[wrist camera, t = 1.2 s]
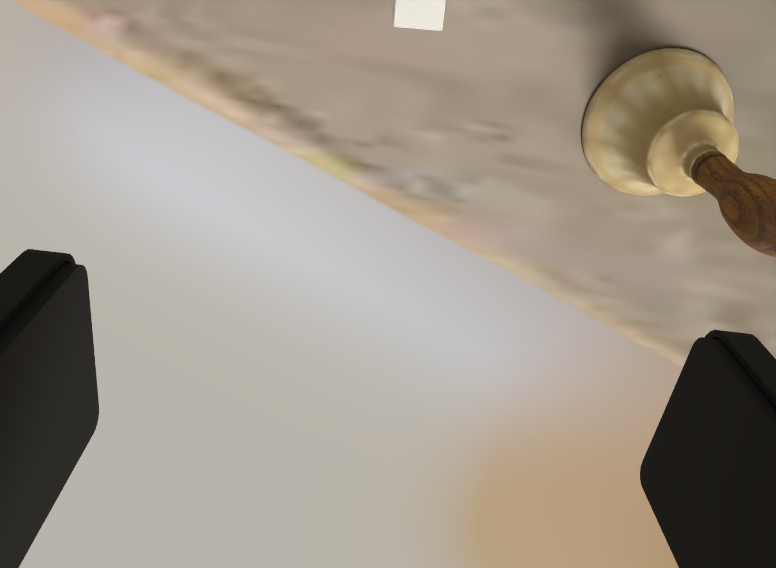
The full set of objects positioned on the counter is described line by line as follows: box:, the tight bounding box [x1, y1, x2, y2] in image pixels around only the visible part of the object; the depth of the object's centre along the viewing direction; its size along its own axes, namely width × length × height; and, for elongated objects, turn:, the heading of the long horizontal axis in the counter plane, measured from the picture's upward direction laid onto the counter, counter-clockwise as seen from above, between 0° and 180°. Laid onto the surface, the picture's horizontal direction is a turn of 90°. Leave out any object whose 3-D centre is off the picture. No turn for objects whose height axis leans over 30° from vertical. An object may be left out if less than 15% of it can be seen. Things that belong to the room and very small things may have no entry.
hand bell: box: [582, 48, 776, 257], centre depth 30 cm, size 8×8×16 cm
